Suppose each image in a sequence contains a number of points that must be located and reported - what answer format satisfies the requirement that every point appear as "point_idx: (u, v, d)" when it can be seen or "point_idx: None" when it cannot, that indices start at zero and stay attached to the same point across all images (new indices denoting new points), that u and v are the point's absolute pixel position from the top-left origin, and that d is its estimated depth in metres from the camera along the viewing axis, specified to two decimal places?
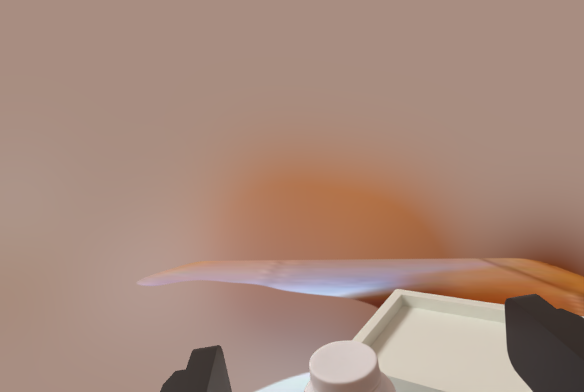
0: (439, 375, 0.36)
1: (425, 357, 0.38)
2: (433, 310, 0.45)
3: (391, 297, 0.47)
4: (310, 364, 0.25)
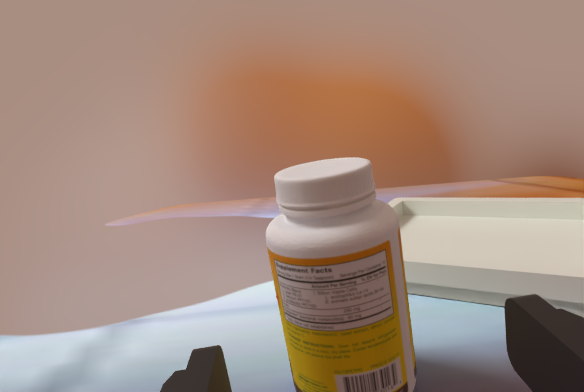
0: None
1: (432, 250, 0.31)
2: (440, 215, 0.38)
3: (390, 203, 0.39)
4: (276, 175, 0.17)
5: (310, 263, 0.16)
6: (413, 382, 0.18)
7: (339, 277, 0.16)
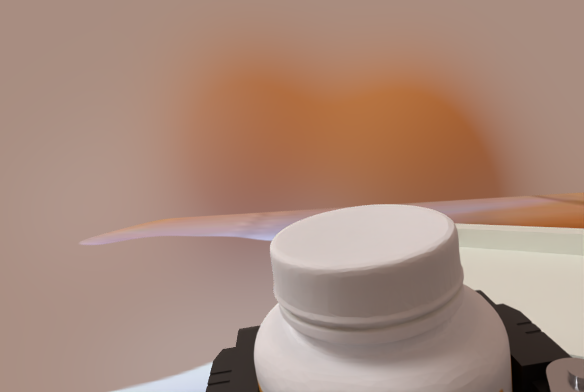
0: None
1: None
2: (485, 247, 0.30)
3: None
4: (273, 243, 0.09)
5: None
6: None
7: None
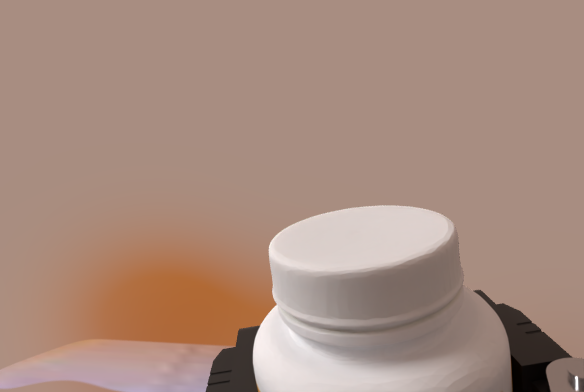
0: None
1: None
2: None
3: None
4: (271, 245, 0.09)
5: None
6: None
7: None
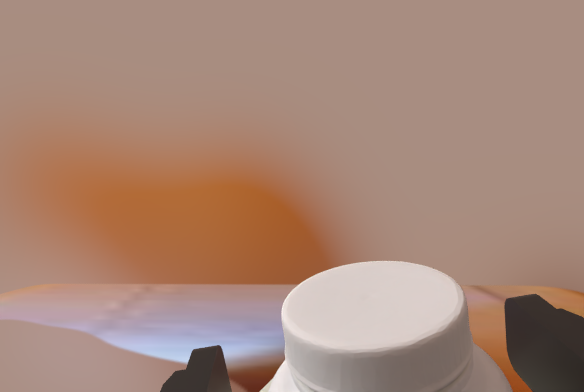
0: None
1: None
2: None
3: None
4: (284, 309, 0.09)
5: None
6: None
7: None
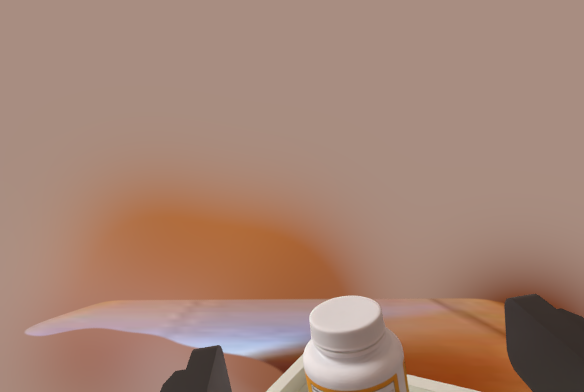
0: None
1: None
2: None
3: (295, 365, 0.34)
4: (310, 318, 0.23)
5: None
6: None
7: None
